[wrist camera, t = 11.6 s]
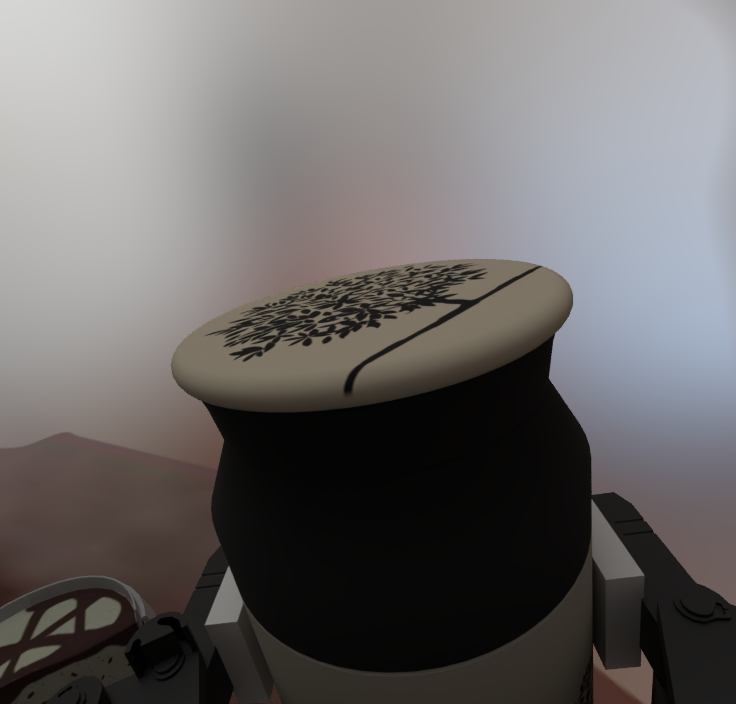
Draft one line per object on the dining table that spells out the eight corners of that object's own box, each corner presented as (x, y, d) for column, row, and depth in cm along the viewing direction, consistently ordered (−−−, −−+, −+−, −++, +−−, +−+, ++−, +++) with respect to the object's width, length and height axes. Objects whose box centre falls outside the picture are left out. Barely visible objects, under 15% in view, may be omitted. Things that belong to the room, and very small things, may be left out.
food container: (191, 642, 31) (141, 534, 27) (206, 723, 26) (146, 603, 22) (-18, 764, 26) (-112, 650, 22) (-53, 896, 21) (-182, 775, 17)
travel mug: (305, 799, 16) (118, 337, 10) (452, 645, 20) (387, 256, 14) (483, 1158, 9) (266, 480, 3) (643, 822, 14) (676, 251, 7)
